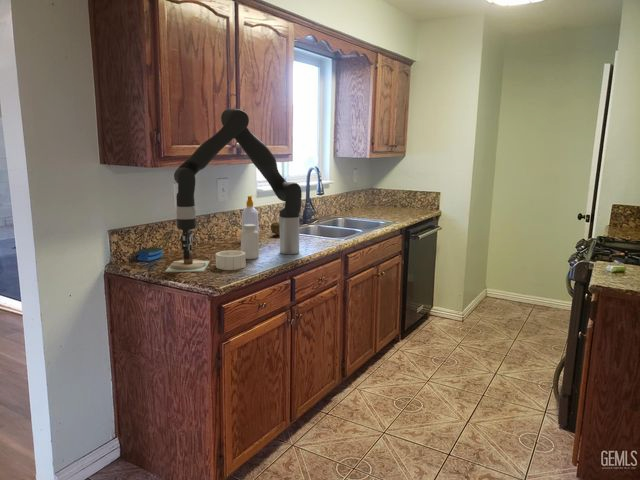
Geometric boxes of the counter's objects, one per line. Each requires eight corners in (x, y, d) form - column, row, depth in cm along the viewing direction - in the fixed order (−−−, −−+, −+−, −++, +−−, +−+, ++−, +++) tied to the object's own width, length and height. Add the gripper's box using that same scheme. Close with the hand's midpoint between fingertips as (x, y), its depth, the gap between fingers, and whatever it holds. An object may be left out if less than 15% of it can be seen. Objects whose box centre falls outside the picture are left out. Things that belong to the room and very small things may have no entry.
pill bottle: (251, 260, 214) (250, 226, 211) (237, 258, 218) (236, 225, 215) (262, 257, 221) (262, 224, 218) (248, 254, 225) (248, 222, 222)
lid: (174, 261, 208) (174, 248, 207) (207, 261, 209) (207, 247, 208) (167, 270, 194) (166, 255, 193) (203, 269, 195) (202, 255, 194)
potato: (291, 234, 277) (291, 220, 276) (277, 238, 267) (277, 223, 265) (279, 233, 282) (279, 219, 280) (265, 236, 271) (265, 222, 270)
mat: (174, 262, 209) (174, 261, 209) (209, 261, 211) (209, 260, 210) (165, 272, 193) (165, 270, 193) (203, 271, 194) (203, 270, 194)
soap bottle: (260, 239, 263) (259, 195, 259) (256, 242, 254) (255, 197, 250) (245, 238, 264) (244, 194, 260) (240, 241, 255) (239, 196, 251)
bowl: (218, 263, 208) (217, 250, 207) (246, 262, 210) (246, 250, 208) (214, 270, 197) (214, 256, 196) (244, 269, 198) (244, 256, 197)
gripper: (192, 219, 191) (194, 261, 194) (198, 214, 205) (199, 253, 208) (173, 219, 190) (175, 261, 194) (180, 214, 204) (182, 254, 208)
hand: (188, 257), depth 201 cm, fingers open, 5 cm apart
